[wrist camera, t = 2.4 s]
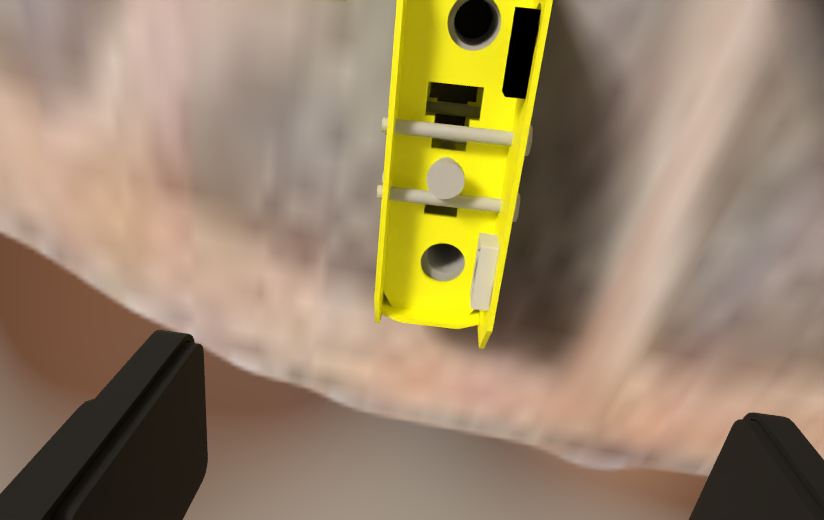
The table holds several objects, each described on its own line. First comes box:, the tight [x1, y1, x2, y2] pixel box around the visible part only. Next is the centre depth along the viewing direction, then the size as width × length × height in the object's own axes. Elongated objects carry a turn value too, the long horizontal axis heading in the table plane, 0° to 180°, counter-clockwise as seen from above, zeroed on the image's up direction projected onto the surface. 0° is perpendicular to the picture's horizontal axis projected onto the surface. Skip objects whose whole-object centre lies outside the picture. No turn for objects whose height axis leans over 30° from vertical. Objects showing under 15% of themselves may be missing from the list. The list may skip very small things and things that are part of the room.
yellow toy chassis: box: [374, 0, 553, 349], centre depth 24 cm, size 16×6×8 cm, turn 174°
